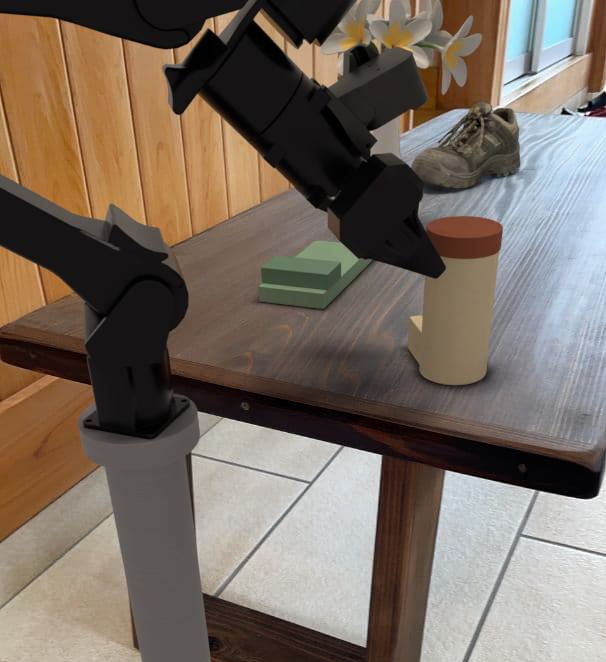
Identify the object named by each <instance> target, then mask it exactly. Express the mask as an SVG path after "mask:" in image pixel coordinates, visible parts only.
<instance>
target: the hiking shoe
mask: <svg viewBox="0 0 606 662" xmlns="http://www.w3.org/2000/svg"><path fill="white" fill-rule="evenodd" d="M461 127H462V128H461ZM460 128H461V130H460V131H459V129H460ZM444 139H445V140H444ZM519 139H520V127H519V124H518V120H517V116H516V113H515V110H513V108H509V107H498V108H495V110H493V105H492V104H491V103H490V102H487V100H483V101H480V102H478V103H477V102H476V103H474V104H473V105H472V106H471V108H469V110H468V112H467V113H466V114H465V115H464V116H462V117H461V119H460V120H459V121H458V122H457V123H456V124H454V126H453V127H452V128H451V129H450V130H449V131H448V132H447V133H445V135H443V137H440V139H439V140H438V141H437V143H438V144H439V145H438V146H436V147H429V148H427V149H424V150H423V151H422V152H420V153H419V154H418V155H416V156H415V158H414V159H413V161H412V163H411V165H410V167H411V168H412V170H413V171H414V172H415V173H416V174H417V175H418V176H419V177H420V178H421V179H422V180H423V181H424V182H425V183H427V184H431V185H436V186H440V187H445V188H452V189H467V188H469V187H473V186H476V184H478V183H479V182H480V180H481V178H482V177H483V176H484V175H488V176H491V177H494V178H500V177H501V176H503V177H506V176H509V174H511V175H512V174H515V173H516V172H518V171H517V170H518V169H520V167H521V154H520V151H521V150H520V149H521V144H520V141H519Z"/></svg>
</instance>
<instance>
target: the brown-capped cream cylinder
mask: <svg viewBox="0 0 606 662" xmlns="http://www.w3.org/2000/svg"><path fill="white" fill-rule="evenodd" d="M425 230H426V232H427V234H428V236H429V237H430V239H431V241H432V243H433V244H434V246H435V248H436V250H437V252H438V253H439V255H440V257H441V259H442V260H443V262H444V264H445V266H446V270H445V271H444V272H443V273H442V274H441V276H440V277H439V278H437V279H434V278H431V277H428V276H424V283H423V285H424V286H423V301H422V315H412V316H409V317H408V337H407V349H408V351H409V353H411V355H412V357H413V358H414V359H415V360H416V362H417V363H418V365H419V373H420V375H421V376H422V377H423V378H425V379H426V380H428V381H430V382H433V383H436V384H439V385H446V386H465V385H470V384H471V385H472V384H474V383H477V382H479V381H481V380H482V379H484V378H485V376H486V374H487V369H488V359H489V350H490V340H491V331H492V322H493V312H494V303H495V295H496V286H497V275H498V265H499V257H500V251H501V249H502V242H503V233H504V226H503V224H502V223H500V222H499V221H497V220H494V219H490V218H487V217H481V216H474V215H452V216H445V217H440V218H436V219H433V220H431V221H429V222H427V224H426V228H425Z"/></svg>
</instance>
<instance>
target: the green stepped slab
mask: <svg viewBox="0 0 606 662" xmlns="http://www.w3.org/2000/svg"><path fill="white" fill-rule="evenodd" d="M372 261H373V260H371V259H367V260H365V259H362V258H360V259H358V258H357V257H356V256H355V255H354V254H353V253H352V252H351V251H350V250H349V249H347V248H346V247H345V246H344V245H343V244H342V243H341V242H340V241H339V242H338V241H337V242H336V241H328V240H327V241H326V240H318V239H317V240H316V239H315V240H314V241H313V242H312V243H311V244H309V245H308V246H307V247H305V248H304V249H303V250H302V251H301V252H299V253H298V254H297V255H295V256H286V255H275V256H274V257H272V259H270V260H269V261H267V262H266V263H265V264H263V265H262V266H261V267H260V273H261V284H260V285H259V286H258V294H259V295H258V296H259V297H258V298H259V302H261V303H267V304H268V303H269V304H277V305H285V306H286V305H287V306H293V307H294V306H295V307H302V308H311V309H319V310H324V309H326V308H327V306H328V305H329V304H330V303H332V301H334V299H336V298H337V296H338V295H340V293H341V292H342V291H344V290H345V288H347V286H349V285H350V284H351V283H352V282H353V281H354V280H355V279H356V277H358V275H360V274H361V272H363V271H364V269H365V268H367V267H368V266H369V265H370V263H372Z"/></svg>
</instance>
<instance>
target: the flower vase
mask: <svg viewBox="0 0 606 662" xmlns="http://www.w3.org/2000/svg"><path fill="white" fill-rule="evenodd" d="M381 4H382V0H360V1H359V2H357V1H356V3H355V4H354V5H353V6H352V8H351V9H350V10H349V12H348V13H347V14H346V15H345V17H344V18H343V19H342V20H341V22H340V23H339V24H338V26H337V27H336V28H335V29H334V31H333V32H332V33H331V34H330V36H329V37H328V38H327V40H326V41H325V42H324V43H323V45H322V46H321V47H320V53H321V54H322V55H324V56H331V55H334V54H338V59H337V62H336V72H337V74H338V75H343V57H344V52H345V51H346V50H348V49H350V48H351V47H353V46H355V45H356V44H358V43H360V42H362V43H365V44H367V45H368V46H370V47H371V48H372V49H373V50H374V51H375V52H376V53H378V54H381V53H383V52H382V50H383V49H385V48H389V49H391V48H394V47H400V48H403V49H406V50H408V51H411V52H412V53H413V56H414V59H415V61H416V64H417V67H418V69H424V70H425V69H428V68H429V66H430V62H431V61H433V60H434V58H435V54H434V51H433V50H435V51H437V52H439V53H440V54H441V66H442V76H441V94H442V96H444V95H445V94H446V93H448V92H447V91H448V90H449V88H450V85H451V82H452V77H453V79H454V81H455V82H456V85H458V87H461V88H462V87H464V86H465V84H466V82H467V79H468V67H467V64H466V62H465V60H464V59H463V58H462V57H468V56H469V55H471V54H472V53H474V52H475V51H476V50H477V49H478V47H479V46H480V45H481V43H482V40H483V35H482V33H474V34H471V35H469V36H467V35H468V34H469V32H470V31H471V28H472V25H473V22H474V16H473V15H469V17H467V19H466V20H465V22H464V23H463V24H462V25H461V27H460V28H459V30H458V31H457V32H456V33H455V34H454V36H453V35H452V34H451V33H449V32H448V31H446V30H440V29H441V28H442V25H443V21H444V11H443V6H442V2H441V1H440V0H435V2H434V5H433V4H432V0H426V10H423V11H421V12H419V13H417V14H416V15H415V16H413V17H411V16H412V7H411V3H410V0H390V3H389V6H388V19H387V20H386V19H384V18H383V17H382V16H380V15H379V14H378V15H377V12H378V10H379V8H380V6H381ZM375 40H377V42H379V43H381V46H380V47H381V53H380V51H379V48H378V46H377V45H376V44H375V42H373V41H375ZM371 134H372V135H373V136H374V137H375V138H376V139H377V140H378V141H377V142H376V143H375V144H374V146H373V147H372V148H371V156H372V154H382V153H393V154H394V155H395V156H397V157H398V158H400V159H401V160H403V158H402V152H401V142H400V141H401V140H400V139H401V138H400V137H401V136H400V116H398V117H397V118H395V119H393V120H392V121H390V122H388V123H387V124H385V125H383V126H382V127H380V128H378V129H376V130H373V131H372V133H371ZM423 206H424V204H423V199H422V200H421V201H420V203H419V209H418V216H419V215H420V213H421V211H422V210H423Z"/></svg>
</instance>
